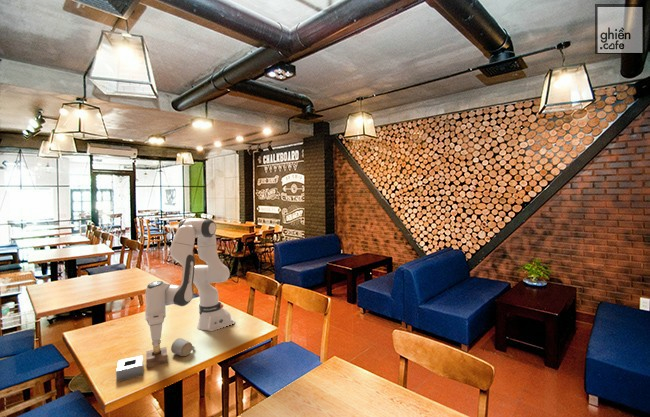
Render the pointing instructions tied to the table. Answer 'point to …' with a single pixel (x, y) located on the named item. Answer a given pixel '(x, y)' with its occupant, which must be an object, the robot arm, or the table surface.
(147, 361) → the mount
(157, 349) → the pin
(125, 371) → the socket
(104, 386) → the table surface
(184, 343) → the ceramic mug
